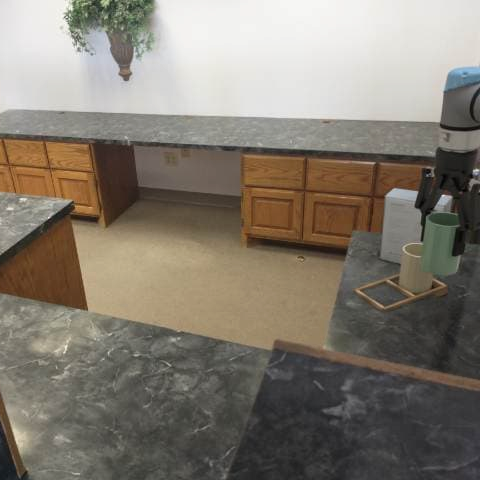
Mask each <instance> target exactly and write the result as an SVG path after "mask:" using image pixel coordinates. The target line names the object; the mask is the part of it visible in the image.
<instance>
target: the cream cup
mask: <svg viewBox="0 0 480 480" xmlns="http://www.w3.org/2000/svg"><path fill="white" fill-rule="evenodd" d="M421 250H422V243H410V244H407V245H405V246H404V247H403V250H402V258H401V264H400V268H399V274H400V275H399V279H398V286H400V287H402V288H403V289H405V290H407V291H409V292H410V293H412V294H417V295H419V294H421V293H424V292H427V291H429V290H432V288H431V287H432V280H433V278H434V274H430V273H427V272H425V271H424V270H422V269H421V268H420V257H421Z"/></svg>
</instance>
